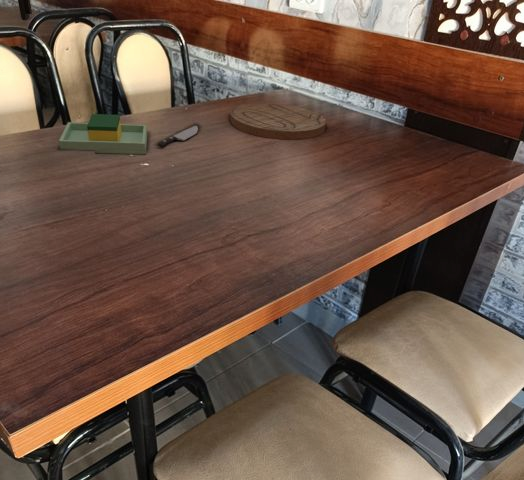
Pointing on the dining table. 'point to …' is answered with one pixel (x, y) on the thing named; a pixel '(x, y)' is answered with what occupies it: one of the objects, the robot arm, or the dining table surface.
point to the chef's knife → (180, 136)
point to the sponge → (104, 128)
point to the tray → (129, 142)
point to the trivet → (277, 121)
